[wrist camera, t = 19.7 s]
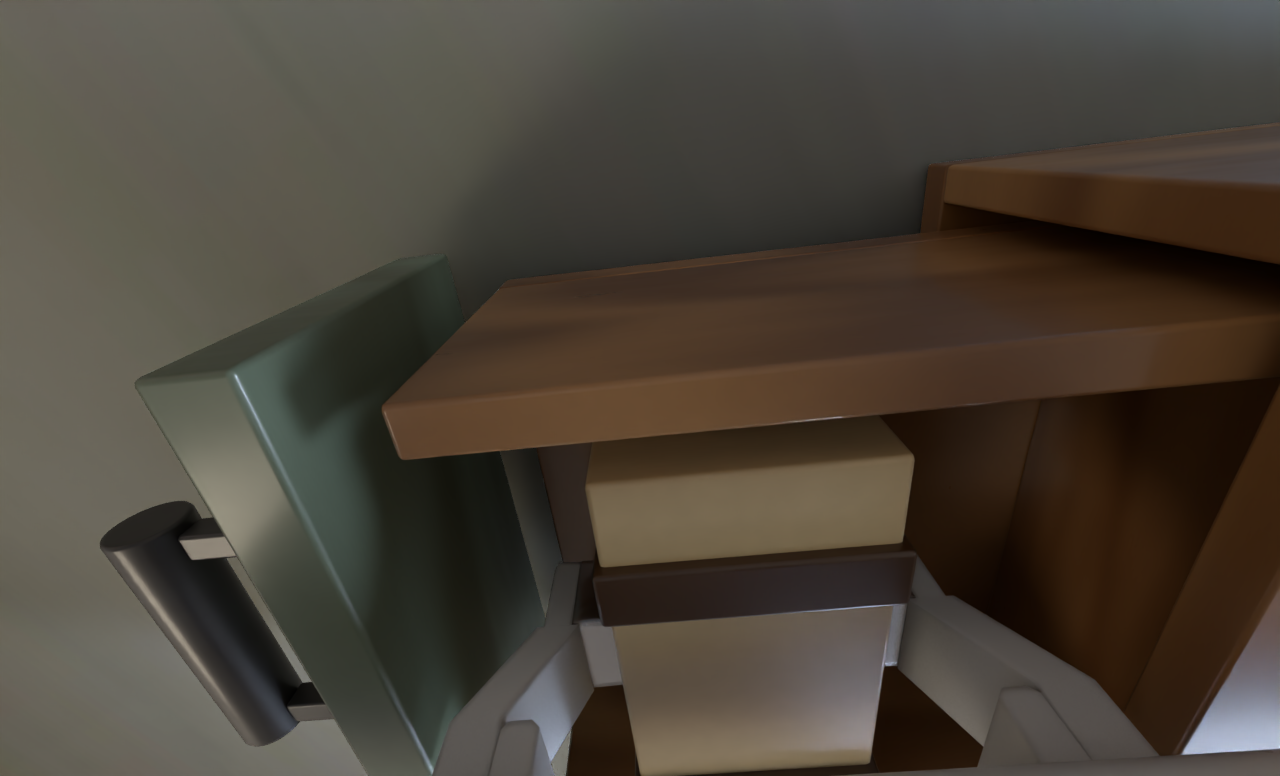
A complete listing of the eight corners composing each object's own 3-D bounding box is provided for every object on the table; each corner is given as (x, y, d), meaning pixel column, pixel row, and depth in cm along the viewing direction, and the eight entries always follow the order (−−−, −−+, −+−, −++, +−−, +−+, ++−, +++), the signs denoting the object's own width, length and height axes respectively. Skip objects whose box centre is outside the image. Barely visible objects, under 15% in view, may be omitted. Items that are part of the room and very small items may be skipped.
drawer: (382, 659, 18) (244, 933, 12) (195, 281, 12) (-279, 423, 6) (982, 615, 17) (1181, 888, 10) (1092, 177, 11) (1673, 216, 5)
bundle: (802, 639, 14) (871, 845, 10) (646, 650, 14) (647, 857, 10) (815, 335, 10) (935, 464, 6) (600, 356, 10) (573, 496, 6)
